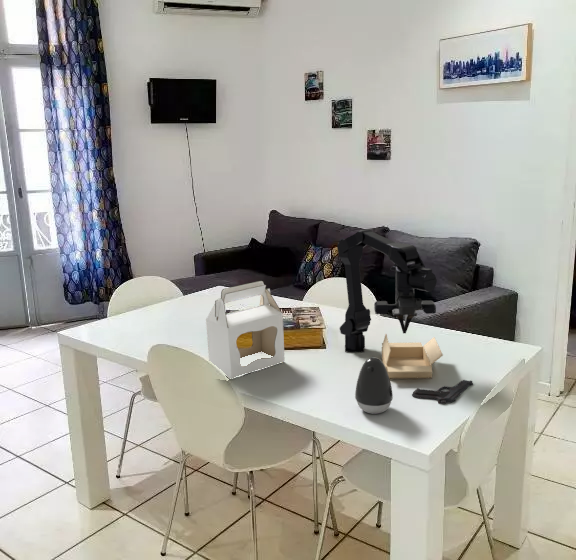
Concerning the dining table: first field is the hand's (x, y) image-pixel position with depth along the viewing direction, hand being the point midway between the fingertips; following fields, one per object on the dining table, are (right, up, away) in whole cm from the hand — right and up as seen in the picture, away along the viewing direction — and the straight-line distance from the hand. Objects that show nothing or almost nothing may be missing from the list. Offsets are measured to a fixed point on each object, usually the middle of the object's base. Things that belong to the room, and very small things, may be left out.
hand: (404, 333), depth 196 cm
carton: (+1, -11, +3) cm, 12 cm away
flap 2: (+7, -7, +1) cm, 10 cm away
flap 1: (-6, -7, +2) cm, 10 cm away
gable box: (-51, -12, +10) cm, 53 cm away
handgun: (+9, -16, -15) cm, 24 cm away
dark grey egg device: (-13, -19, -26) cm, 35 cm away
